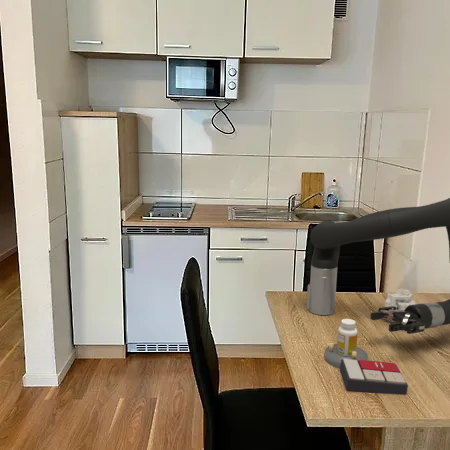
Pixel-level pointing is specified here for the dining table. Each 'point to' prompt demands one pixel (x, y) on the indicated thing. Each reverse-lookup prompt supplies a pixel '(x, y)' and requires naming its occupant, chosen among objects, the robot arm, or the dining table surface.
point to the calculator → (372, 377)
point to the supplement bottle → (347, 337)
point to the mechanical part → (399, 299)
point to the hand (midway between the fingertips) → (380, 322)
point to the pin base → (336, 358)
